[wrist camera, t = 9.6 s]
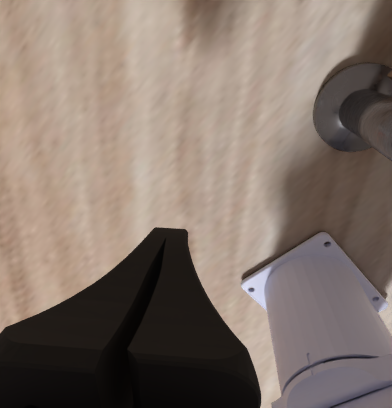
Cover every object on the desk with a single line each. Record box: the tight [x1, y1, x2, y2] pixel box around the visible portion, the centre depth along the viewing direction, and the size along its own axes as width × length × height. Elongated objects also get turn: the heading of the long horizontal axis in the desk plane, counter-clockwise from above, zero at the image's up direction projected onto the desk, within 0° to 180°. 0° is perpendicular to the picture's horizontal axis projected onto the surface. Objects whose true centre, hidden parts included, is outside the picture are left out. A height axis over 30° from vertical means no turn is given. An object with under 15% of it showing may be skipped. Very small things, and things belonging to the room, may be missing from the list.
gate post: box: [313, 63, 392, 161], centre depth 15 cm, size 5×5×8 cm
